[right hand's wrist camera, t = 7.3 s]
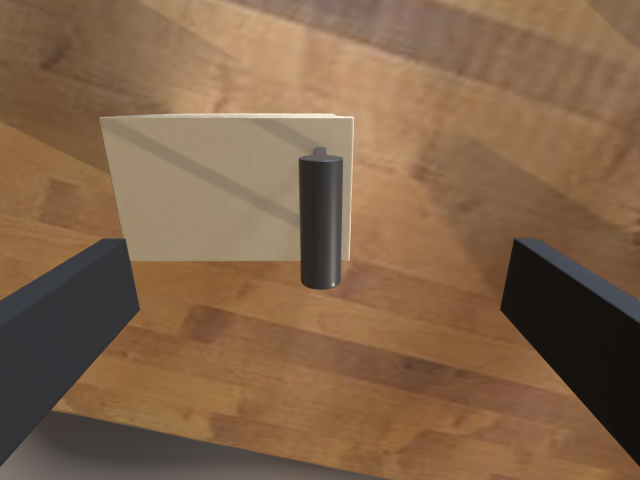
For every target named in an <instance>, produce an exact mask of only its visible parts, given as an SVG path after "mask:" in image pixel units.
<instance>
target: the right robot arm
mask: <svg viewBox="0 0 640 480" xmlns="http://www.w3.org/2000/svg"><path fill="white" fill-rule="evenodd" d="M139 310H140V308H139V303H138V298H137V293H136V288H135V283H134V278H133V273H132V268H131V263H130V258H129V253H128V248H127V243H126V239H102V240H100V241H98V242H97V243H95V244H93V245H92V246H90V247H88V248H87V249H85V250H83V251H82V252H80V253H79V254H77V255H75V256H74V257H72V258H70V259H69V260H67V261H65V262H64V263H62V264H60V265H59V266H57V267H55V268H54V269H52V270H50V271H49V272H47V273H46V274H44V275H42V276H41V277H39V278H37V279H36V280H34V281H32V282H31V283H29V284H27V285H26V286H24V287H22V288H21V289H19V290H17V291H16V292H14V293H13V294H11V295H9V296H8V297H6V298H4V299H3V300H1V301H0V466H1V465H2V464H3V463H4V462H5V461H6V460H7V459H8V457H9V456H10V455H11V454H12V453H13V452H14V451H15V450H16V448H17V447H18V446H19V445H20V444H21V443H22V442H23V441H24V439H25V438H26V437H27V436H28V435H29V434H30V433H31V432H32V430H33V429H34V428H35V427H36V426H37V425H38V424H39V423H40V421H41V420H42V419H43V418H44V417H45V416H46V415H47V414H48V413H49V411H50V410H51V409H52V408H53V407H54V406H55V405H56V404H57V402H58V401H59V400H60V399H61V398H62V397H63V396H64V395H65V393H66V392H67V391H68V390H69V389H70V388H71V387H72V386H73V384H74V383H75V382H76V381H77V380H78V379H79V378H80V377H81V375H82V374H83V373H84V372H85V371H86V370H87V369H88V368H89V366H90V365H91V364H92V363H93V362H94V361H95V360H96V359H97V357H98V356H99V355H100V354H101V353H102V352H103V351H104V350H105V348H106V347H107V346H108V345H109V344H110V343H111V342H112V341H113V339H114V338H115V337H116V336H117V335H118V334H119V333H120V332H121V330H122V329H123V328H124V327H125V326H126V325H127V324H128V323H129V321H130V320H131V319H132V318H133V317H134V316H135V315H136V314H137V312H138V311H139ZM500 310H501V311H502V312H503V314H504V315H505V316H506V317H507V318H508V319H509V320H510V321H511V323H512V324H513V325H514V326H515V327H516V328H517V329H518V330H519V332H520V333H521V334H522V335H523V336H524V337H525V338H526V339H527V341H528V342H529V343H530V344H531V345H532V346H533V347H534V348H535V350H536V351H537V352H538V353H539V354H540V355H541V356H542V357H543V359H544V360H545V361H546V362H547V363H548V364H549V365H550V366H551V368H552V369H553V370H554V371H555V372H556V373H557V374H558V375H559V377H560V378H561V379H562V380H563V381H564V382H565V383H566V384H567V386H568V387H569V388H570V389H571V390H572V391H573V392H574V393H575V395H576V396H577V397H578V398H579V399H580V400H581V401H582V402H583V404H584V405H585V406H586V407H587V408H588V409H589V410H590V411H591V413H592V414H593V415H594V416H595V417H596V418H597V419H598V420H599V422H600V423H601V424H602V425H603V426H604V427H605V428H606V429H607V431H608V432H609V433H610V434H611V435H612V436H613V437H614V438H615V440H616V441H617V442H618V443H619V444H620V445H621V446H622V447H623V449H624V450H625V451H626V452H627V453H628V454H629V455H630V456H631V458H632V459H633V460H634V461H635V462H636V463H637V464H638V465H639V467H640V301H639V300H637V299H636V298H634V297H632V296H631V295H629V294H627V293H626V292H624V291H623V290H621V289H619V288H618V287H616V286H614V285H613V284H611V283H609V282H608V281H606V280H604V279H603V278H601V277H599V276H598V275H596V274H594V273H593V272H591V271H590V270H588V269H586V268H585V267H583V266H581V265H580V264H578V263H576V262H575V261H573V260H571V259H570V258H568V257H566V256H565V255H563V254H561V253H560V252H558V251H557V250H555V249H553V248H552V247H550V246H548V245H547V244H545V243H543V242H542V241H540V240H538V239H514V243H513V248H512V253H511V258H510V263H509V268H508V273H507V278H506V283H505V288H504V293H503V298H502V303H501V308H500Z"/></svg>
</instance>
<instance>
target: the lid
mask: <svg viewBox="0 0 640 480" xmlns="http://www.w3.org/2000/svg"><path fill="white" fill-rule="evenodd" d="M99 121H100V126H101V131H102V136H103V140H104V145H105V150H106V155H107V160H108V165H109V170H110V175H111V180H112V185H113V190H114V195H115V200H116V205H117V210H118V215H119V220H120V225H121V230H122V235H123V239H126V243H127V248H128V253H129V258H130V261H301V282H302V284H303V285H304V286H306V287H308V288H311V289H318V290H324V289H330V288H333V287H336V286H337V285H338V284H339V283H340V281H341V261H349V259H350V226H351V194H352V162H353V129H354V118H353V117H100V118H99Z"/></svg>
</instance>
